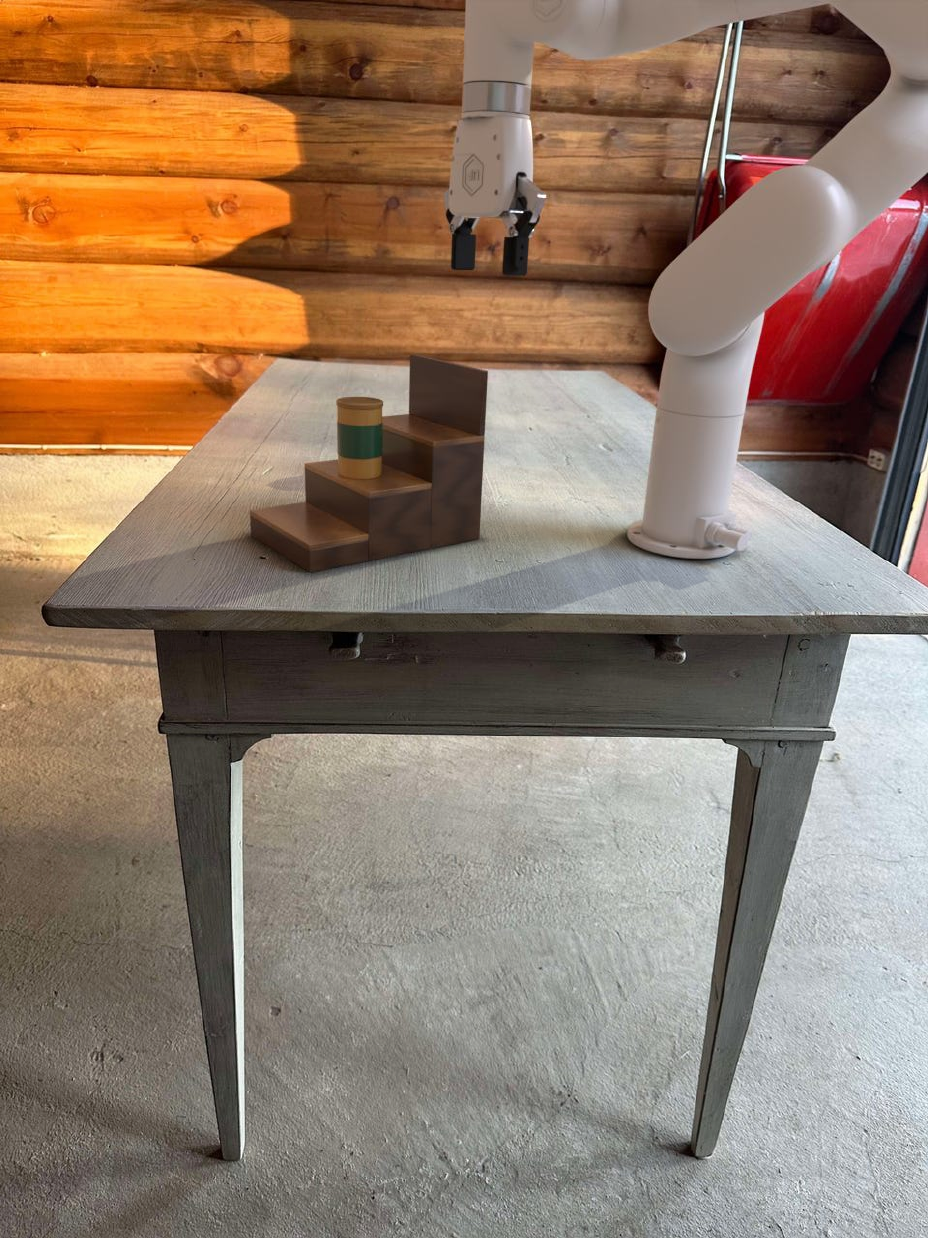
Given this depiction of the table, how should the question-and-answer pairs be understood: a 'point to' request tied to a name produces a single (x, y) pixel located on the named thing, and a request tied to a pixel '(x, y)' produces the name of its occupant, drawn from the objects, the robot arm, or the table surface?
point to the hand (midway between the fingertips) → (487, 272)
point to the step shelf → (395, 481)
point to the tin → (359, 437)
